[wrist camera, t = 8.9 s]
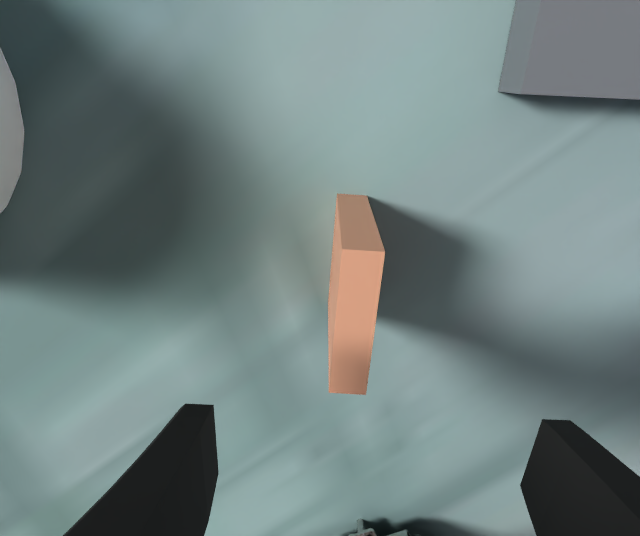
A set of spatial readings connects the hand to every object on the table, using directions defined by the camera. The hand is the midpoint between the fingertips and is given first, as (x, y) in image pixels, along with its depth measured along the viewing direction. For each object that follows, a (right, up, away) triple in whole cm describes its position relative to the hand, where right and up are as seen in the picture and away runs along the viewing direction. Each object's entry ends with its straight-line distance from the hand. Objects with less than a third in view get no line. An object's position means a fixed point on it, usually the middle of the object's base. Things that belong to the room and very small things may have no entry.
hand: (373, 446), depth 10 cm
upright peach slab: (0, +5, +9) cm, 10 cm away
